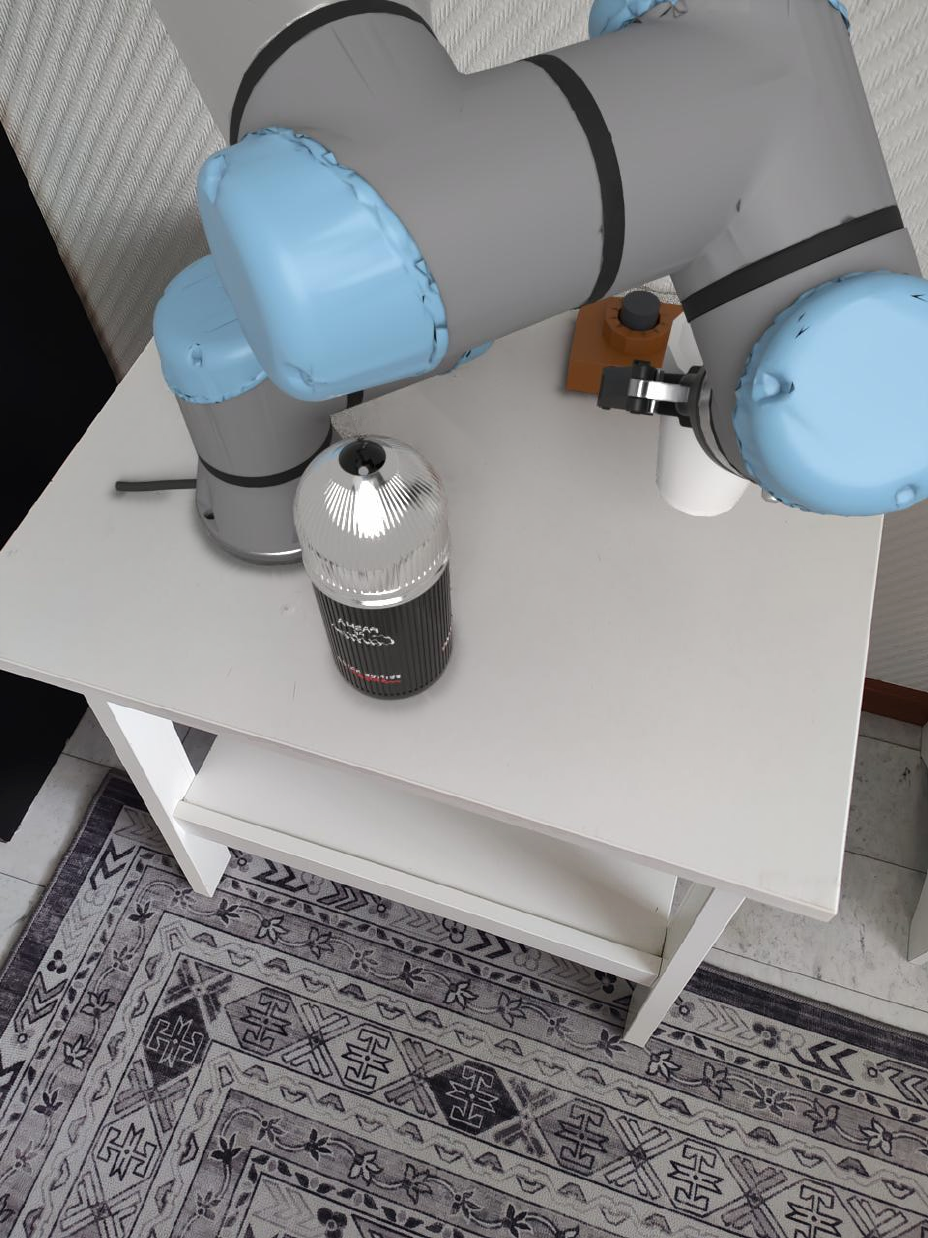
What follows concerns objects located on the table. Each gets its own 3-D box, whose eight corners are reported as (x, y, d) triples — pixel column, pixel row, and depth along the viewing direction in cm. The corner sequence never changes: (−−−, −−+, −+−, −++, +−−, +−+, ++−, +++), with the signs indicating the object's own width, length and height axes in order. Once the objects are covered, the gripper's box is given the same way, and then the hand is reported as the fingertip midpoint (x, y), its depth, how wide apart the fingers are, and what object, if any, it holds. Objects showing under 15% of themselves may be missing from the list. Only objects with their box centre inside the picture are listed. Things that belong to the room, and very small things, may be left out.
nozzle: (618, 329, 86) (621, 312, 84) (621, 305, 88) (624, 287, 86) (655, 334, 86) (659, 317, 84) (658, 309, 88) (662, 292, 86)
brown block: (565, 389, 90) (571, 343, 85) (578, 323, 95) (584, 276, 90) (685, 405, 88) (697, 359, 83) (691, 337, 93) (703, 290, 88)
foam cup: (754, 546, 62) (816, 415, 51) (625, 518, 64) (657, 384, 53) (768, 448, 67) (827, 308, 56) (647, 424, 68) (682, 282, 57)
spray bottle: (440, 718, 71) (425, 530, 49) (317, 696, 72) (251, 502, 51) (466, 611, 76) (462, 399, 55) (351, 592, 77) (303, 376, 56)
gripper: (533, 450, 43) (554, 436, 65) (1003, 519, 41) (863, 480, 63) (558, 289, 42) (571, 329, 63) (1052, 351, 39) (890, 371, 61)
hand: (716, 404), depth 63 cm, fingers closed on foam cup, 9 cm apart
